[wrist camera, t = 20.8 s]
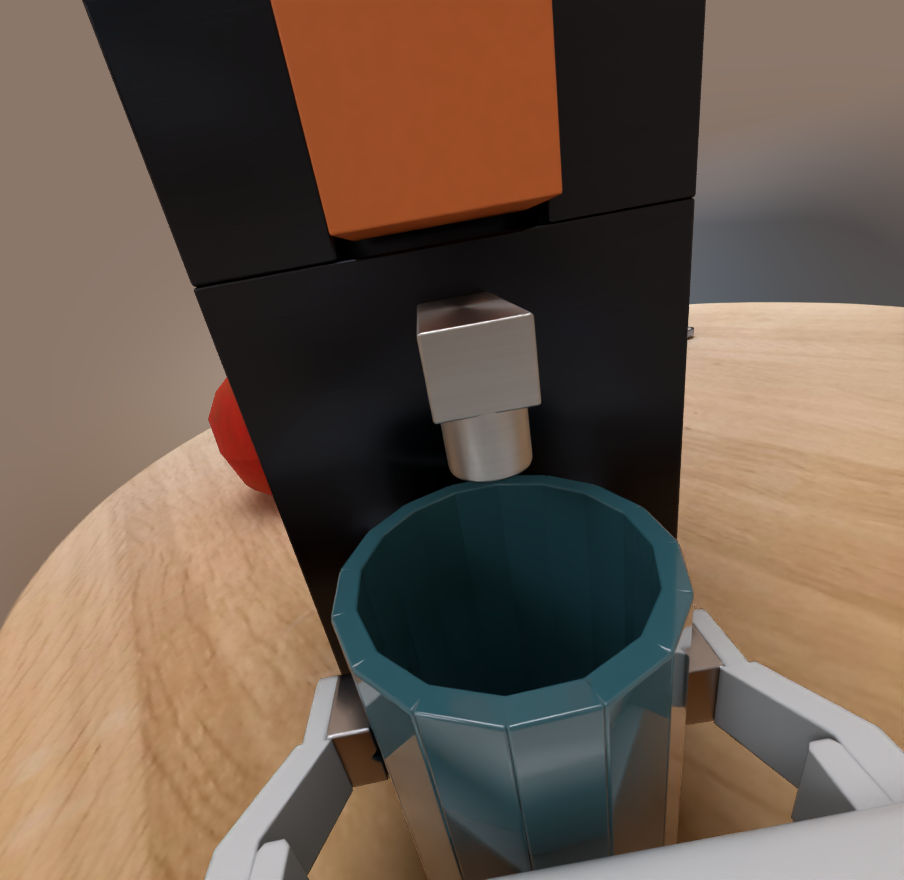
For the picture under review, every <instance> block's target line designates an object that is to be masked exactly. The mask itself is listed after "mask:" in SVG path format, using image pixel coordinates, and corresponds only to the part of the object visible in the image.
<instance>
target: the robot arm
mask: <svg viewBox="0 0 904 880" xmlns="http://www.w3.org/2000/svg"><path fill="white" fill-rule="evenodd" d="M708 721H714V723H715V724H716V725H717V726H719V727H720V728H721V729H722V730H724V731H725V732H726V733H728V734H729V735H730V736H731V737H733V738H734V739H735V740H736V741H738V742H739V743H740V744H742V745H743V746H744V747H745V748H747V749H748V750H749V751H750V752H752V753H753V754H754V755H756V756H757V757H758V758H759V759H761V760H762V761H763V762H764V763H766V764H767V765H768V766H769V767H771V768H772V769H773V770H775V771H776V772H777V773H778V774H780V775H781V776H782V777H783V778H785V779H786V780H787V781H789V782H790V783H791V784H792V785H794V786H795V787H796V788H797V789H798V790H797V794H796V798H795V803H794V807H793V811H792V815H791V818H792V819H793V821H794V822H792V823H787V824H781V825H776V826H770V827H765V828H760V829H754V830H749V831H743V832H738V833H733V834H727V835H722V836H716V837H711V838H706V839H700V840H695V841H689V842H684V843H679V844H673V845H668V846H662V847H657V848H652V849H646V850H641V851H635V852H630V853H625V854H619V855H614V856H608V857H603V858H597V859H592V860H587V861H581V862H576V863H571V864H565V865H560V866H554V867H549V868H544V869H538V870H533V871H528V872H522V873H517V874H511V875H506V876H501V877H495V878H490V879H485V880H904V752H903V751H902V750H901V749H900V748H899V747H898V746H897V745H896V744H895V743H894V742H893V741H892V740H891V739H890V738H889V737H888V736H887V735H886V734H885V733H884V732H883V731H882V730H881V729H880V728H879V727H878V726H876V725H874V724H872V723H870V722H868V721H866V720H864V719H863V718H861V717H859V716H857V715H855V714H853V713H851V712H849V711H848V710H846V709H844V708H842V707H840V706H838V705H836V704H834V703H833V702H831V701H829V700H827V699H825V698H823V697H821V696H819V695H818V694H816V693H814V692H812V691H810V690H808V689H806V688H805V687H803V686H801V685H799V684H797V683H795V682H793V681H791V680H790V679H788V678H786V677H784V676H782V675H780V674H778V673H776V672H775V671H773V670H771V669H769V668H767V667H765V666H763V665H761V664H760V663H758V662H756V661H752V662H748V660H747V659H746V658H745V657H744V656H743V654H742V653H741V652H740V651H739V650H738V648H737V647H736V646H735V645H734V644H733V642H732V641H731V640H730V639H729V638H728V636H727V635H726V634H725V633H724V632H723V630H722V629H721V628H720V627H719V626H718V624H717V623H716V622H715V621H714V620H713V618H712V617H711V616H710V615H709V614H708V612H707V611H705V610H704V609H696V610H693V622H692V636H691V650H690V664H689V678H688V692H687V706H686V720H685V725H689V724H695V723H702V722H708ZM385 780H388V773H387V770H386V767H385V765H384V762H383V759H382V757H381V754H380V751H379V749H378V746H377V743H376V741H375V738H374V735H373V733H372V730H371V727H370V724H369V722H368V719H367V716H366V714H365V711H364V708H363V706H362V703H361V700H360V698H359V695H358V692H357V690H356V687H355V684H354V682H353V679H352V676H351V674H350V673H349V674H343V675H338V676H332V677H326V678H320V680H319V682H318V684H317V685H316V690H315V694H314V698H313V702H312V706H311V710H310V715H309V719H308V723H307V727H306V731H305V735H304V739H303V744H301V745H297V746H296V747H295V748H294V749H293V751H292V752H291V753H290V754H289V756H288V757H287V758H286V759H285V761H284V762H283V763H282V765H281V766H280V767H279V768H278V770H277V771H276V772H275V773H274V775H273V776H272V777H271V779H270V780H269V781H268V782H267V784H266V785H265V786H264V787H263V789H262V790H261V791H260V793H259V794H258V795H257V796H256V798H255V799H254V800H253V801H252V803H251V804H250V805H249V807H248V808H247V809H246V810H245V812H244V813H243V814H242V815H241V817H240V818H239V819H238V821H237V822H236V823H235V824H234V826H233V827H232V828H231V829H230V831H229V832H228V833H227V835H226V836H225V837H224V838H223V840H222V841H221V842H220V843H219V845H218V846H217V847H216V849H215V850H214V853H213V856H212V859H211V861H210V864H209V867H208V870H207V873H206V876H205V879H204V880H309V879H308V877H307V875H308V874H309V872H310V870H311V868H312V866H313V864H314V862H315V860H316V859H317V857H318V855H319V853H320V851H321V849H322V847H323V845H324V844H325V842H326V840H327V838H328V836H329V834H330V832H331V830H332V829H333V827H334V825H335V823H336V821H337V819H338V817H339V815H340V814H341V812H342V810H343V808H344V806H345V804H346V802H347V800H348V799H349V797H350V795H351V793H352V791H353V787H357V786H362V785H366V784H371V783H375V782H380V781H385Z"/></svg>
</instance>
